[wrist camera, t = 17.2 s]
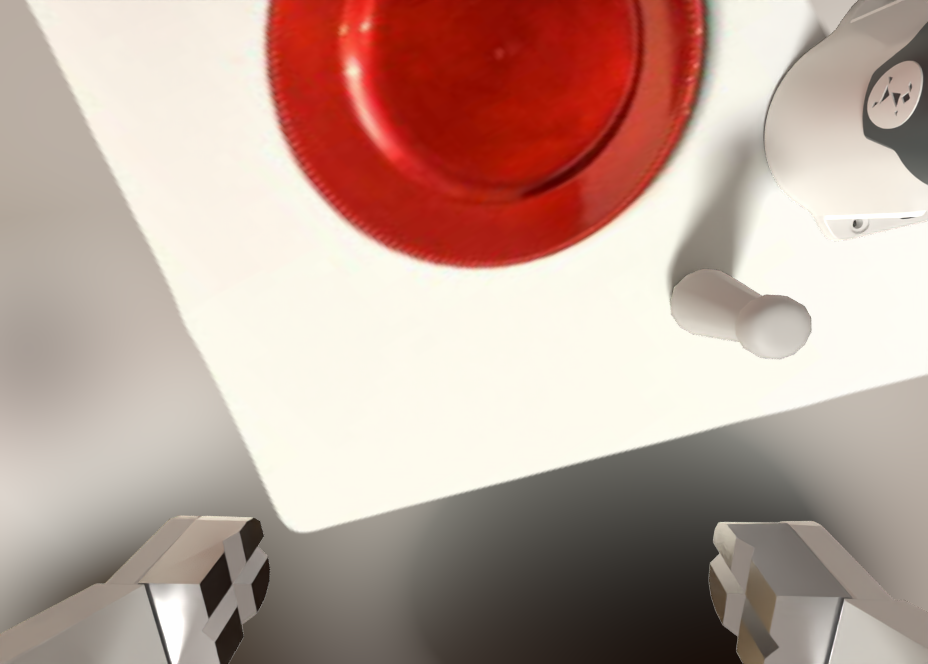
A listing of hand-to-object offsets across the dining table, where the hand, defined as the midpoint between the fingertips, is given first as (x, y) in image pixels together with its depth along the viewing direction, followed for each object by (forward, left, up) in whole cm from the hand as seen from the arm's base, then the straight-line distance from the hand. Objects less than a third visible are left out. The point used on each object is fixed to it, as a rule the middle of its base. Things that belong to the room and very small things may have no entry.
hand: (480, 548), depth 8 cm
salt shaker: (-20, +2, -36) cm, 41 cm away
